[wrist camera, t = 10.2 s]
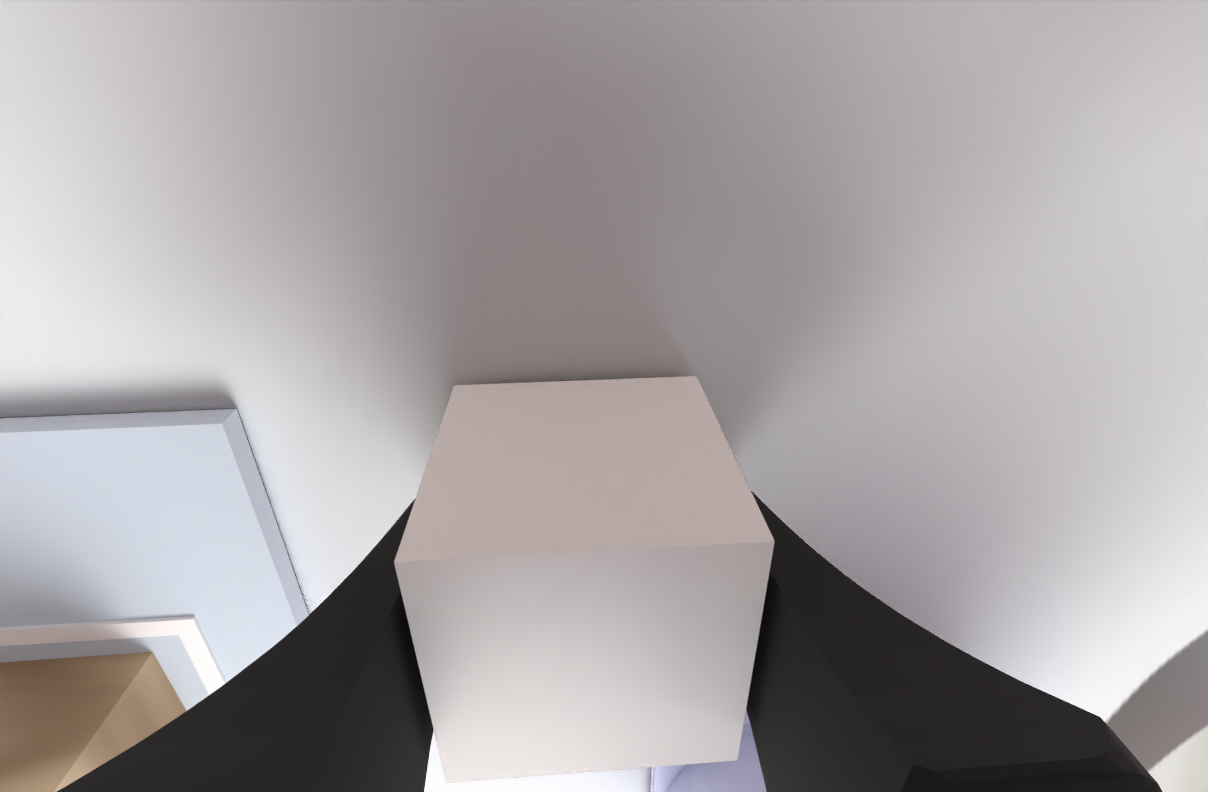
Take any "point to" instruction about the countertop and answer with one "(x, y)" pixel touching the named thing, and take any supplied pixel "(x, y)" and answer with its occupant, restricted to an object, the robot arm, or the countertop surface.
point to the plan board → (141, 545)
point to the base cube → (77, 715)
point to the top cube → (583, 579)
